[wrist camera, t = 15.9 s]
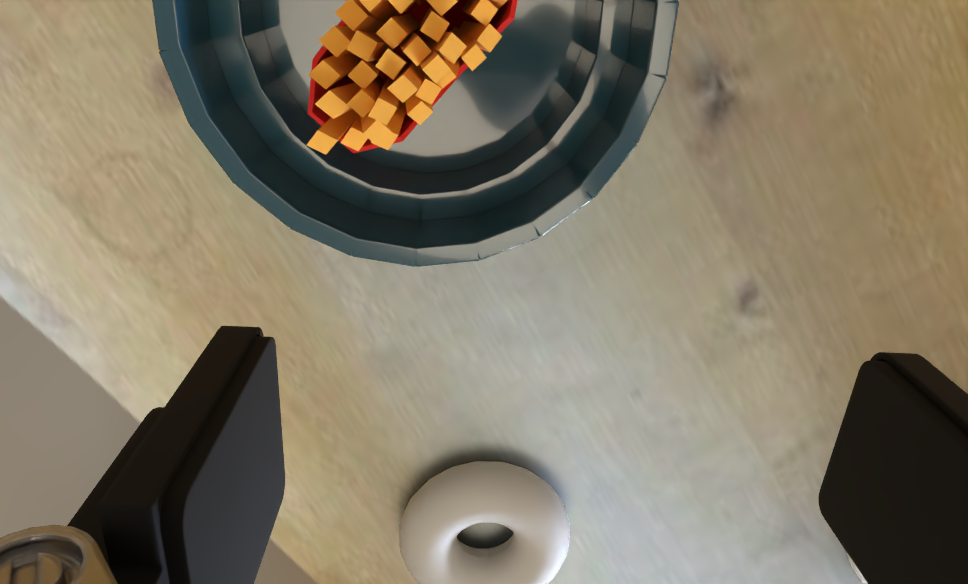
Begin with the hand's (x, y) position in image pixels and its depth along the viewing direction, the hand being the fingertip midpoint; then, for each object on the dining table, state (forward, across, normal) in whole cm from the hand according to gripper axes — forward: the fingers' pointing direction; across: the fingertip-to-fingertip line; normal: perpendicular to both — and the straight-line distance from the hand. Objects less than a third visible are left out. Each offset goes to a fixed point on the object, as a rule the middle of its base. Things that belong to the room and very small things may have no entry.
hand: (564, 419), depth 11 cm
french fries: (+23, +3, -5) cm, 23 cm away
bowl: (+23, +3, -5) cm, 24 cm away
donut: (+24, -1, +23) cm, 33 cm away
